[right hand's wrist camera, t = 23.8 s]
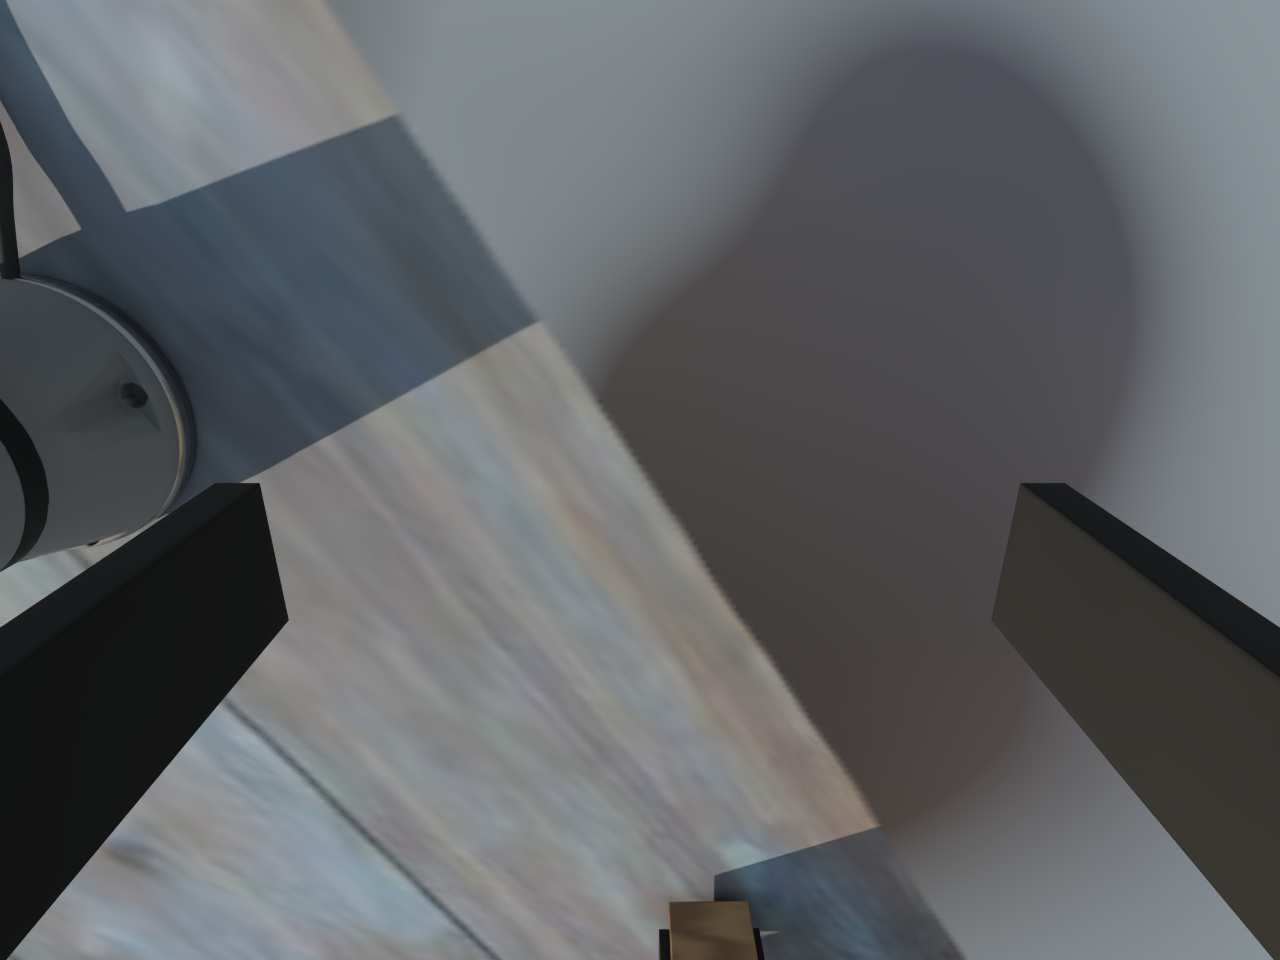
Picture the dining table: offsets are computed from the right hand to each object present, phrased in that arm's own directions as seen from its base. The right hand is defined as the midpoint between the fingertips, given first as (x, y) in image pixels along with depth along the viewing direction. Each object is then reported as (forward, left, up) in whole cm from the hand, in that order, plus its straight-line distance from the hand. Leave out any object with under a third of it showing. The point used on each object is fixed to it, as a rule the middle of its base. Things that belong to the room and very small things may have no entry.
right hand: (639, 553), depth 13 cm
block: (+37, +28, -27) cm, 54 cm away
